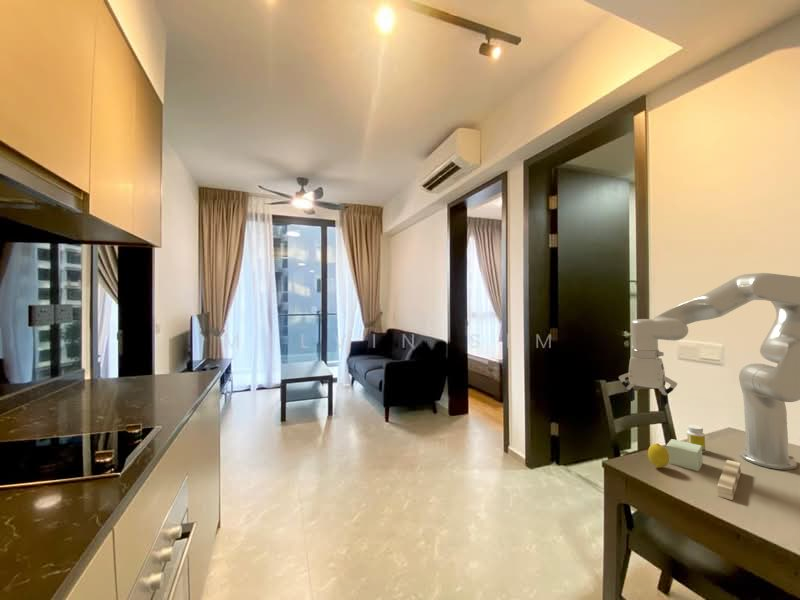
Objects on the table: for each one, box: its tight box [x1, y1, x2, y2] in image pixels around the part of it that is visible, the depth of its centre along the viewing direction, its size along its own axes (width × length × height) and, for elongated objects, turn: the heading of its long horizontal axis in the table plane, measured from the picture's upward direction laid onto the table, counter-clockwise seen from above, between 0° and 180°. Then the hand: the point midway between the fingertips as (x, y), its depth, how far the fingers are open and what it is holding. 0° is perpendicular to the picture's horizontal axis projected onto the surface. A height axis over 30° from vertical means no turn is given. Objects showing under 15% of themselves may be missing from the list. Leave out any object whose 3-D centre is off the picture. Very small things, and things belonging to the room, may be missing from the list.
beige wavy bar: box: [716, 459, 742, 501], centre depth 101 cm, size 20×3×3 cm, turn 131°
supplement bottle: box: [686, 424, 706, 454], centre depth 122 cm, size 5×5×8 cm
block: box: [665, 438, 704, 472], centre depth 114 cm, size 7×8×6 cm
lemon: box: [647, 443, 669, 469], centre depth 112 cm, size 6×6×8 cm
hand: (647, 402), depth 121 cm, fingers open, 8 cm apart
